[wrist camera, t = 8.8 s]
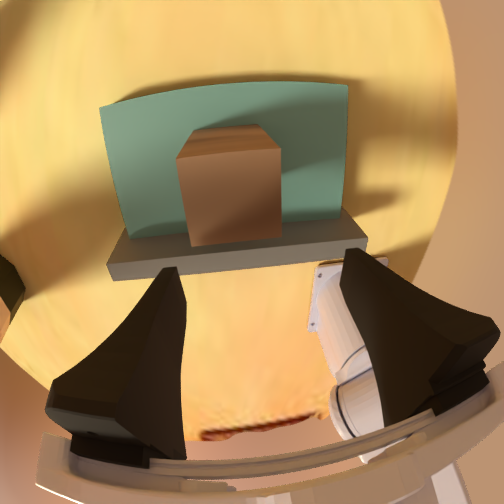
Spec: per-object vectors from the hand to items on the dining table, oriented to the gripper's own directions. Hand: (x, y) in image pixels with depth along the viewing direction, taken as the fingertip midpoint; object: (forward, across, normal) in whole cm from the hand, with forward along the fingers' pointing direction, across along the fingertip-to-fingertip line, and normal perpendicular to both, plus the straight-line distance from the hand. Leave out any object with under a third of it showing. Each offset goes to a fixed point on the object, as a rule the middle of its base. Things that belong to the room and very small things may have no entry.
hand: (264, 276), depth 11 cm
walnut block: (+8, +1, -3) cm, 9 cm away
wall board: (+10, +1, -2) cm, 11 cm away
